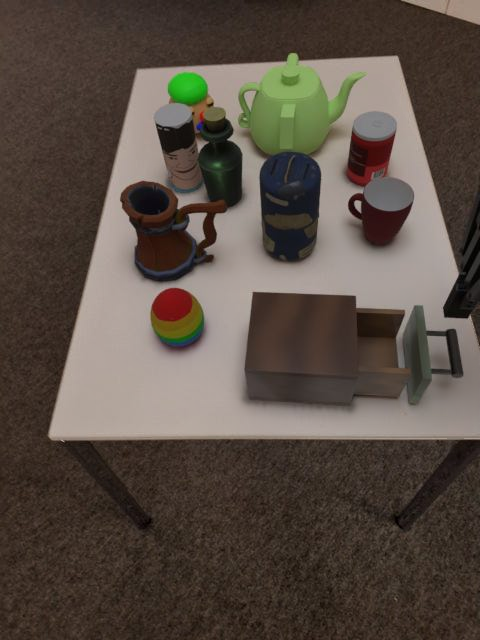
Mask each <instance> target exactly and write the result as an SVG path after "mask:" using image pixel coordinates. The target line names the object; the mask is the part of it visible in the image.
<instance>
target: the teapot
mask: <svg viewBox="0 0 480 640" xmlns="http://www.w3.org/2000/svg"><path fill="white" fill-rule="evenodd" d="M286 58H287V59H286V64H285V65H278V66H273V67H271V68H269V69H268V70H267V71H266V72H265V73H264V75H263V77H262V79H261V80H260V83H259V82H254V81H251V82H247V83H245V84H244V85H242V86H241V87H240V89H239V92H238V96H237V97H238V103H239V106H240V108H241V110H242V113H240V114H239V115H238V117H237V122H238V125H239V126H240V127H241V128H243V129H248V128H249V132H250V135H251V138H252V140H253V142H254V143H255V145H256V146H257V147H258V148H259V149H260V150H261V152H264V153H265V154H267V155H271V156H274V155H276V154H279V153H282V152H300V153H304V154H306V155H309V154H312V153H314V152H315V151H316V150H318V149H319V147H321V146H322V144H323V143H324V141H326V139H327V137H328V134H329V133H330V128H331V125H332V124H333V123H335V122H336V121H338V120H340V118H341V116H342V115H343V114H344V113H345V110H346V108H347V104H348V102H349V101H348V100H349V98H350V94H351V91H352V88H353V87H354V85H355V84H356V83H357V82H358V81H359V80H361V79H362V78H364V77H365V76H366V75H367V72H366V71H359V72H355V73H351V74H350V75H348V76H347V77H346V78H345V79H344V80H343V82H342V84H341V86H340V89H339V92H338V94H337V95H336V96H335V97H334V98H333V99H331V100H329V98H328V97H329V96H328V95H327V92H326V89H325V86H324V85H323V82H322V80H321V77H320V76H319V74H318V72H317V71H316V70H315V69H314V68H313V67H311V66H308V65H299V55H298V53H295V52H291V53H289V54H288V56H287V57H286ZM251 91H252V92H253V91H254V92H255V94H254V96H253V99H252V103H251V107H250V108H249V106H248V103H247V101H246V98H245V94H246V93H247V92H251ZM244 118H245V119H246V120H245V119H244Z"/></svg>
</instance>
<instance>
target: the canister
mask: <svg viewBox="0 0 480 640" xmlns="http://www.w3.org/2000/svg"><path fill="white" fill-rule="evenodd" d="M258 178H259V195H260V210H261V211H260V216H261V234H262V243H263V246H264V249H265V250H266V251H267V253H268V254H269V255H270V256H272V257H273V258H275V259H278V260H281V261H287V262H288V261H289V262H293V261H297V260H301V259H303V258H305V257H307V256H308V255H310V253H312V251H314V248H315V246H316V244H317V238H318V227H319V219H320V200H321V186H322V170H321V167H320V165H319V163H318V162H317V161H316V160H315V158H313V157H312V156H310V155H309V154H304V153H300V152H282V153H279V154H276V155H271V156H270V157H268V158H267V159H266V160H265V161H264V162H263V163H262V165H261V167H260V170H259V175H258Z"/></svg>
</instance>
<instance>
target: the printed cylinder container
mask: <svg viewBox="0 0 480 640" xmlns="http://www.w3.org/2000/svg"><path fill="white" fill-rule="evenodd" d="M153 121H154V124H155V128H156V132H157V136H158V140H159V144H160V148H161V153H162V156H163V160H164V164H165V168H166V173H167V176H168V180H169V185H170V186H171V189H172V190H174V191H176V192H178V193H185V194H186V193H191V192H194V191H196V190H198V189H199V188H200V187H201V186H202V184H203V183H204V180H203V176H202V173H201V169H200V166H199V163H198V155H199V152H200V151H199V146H198V141H197V135H196V133H195V129H194V123H193V117H192V112H191V109H190V108H189V107H188V106H187V105H184V104H180V103H171V104H169V103H168V104H164V105H161V106H160V107H159V108H158V109H157V110H155V112H154V113H153Z"/></svg>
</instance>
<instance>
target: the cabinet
mask: <svg viewBox="0 0 480 640" xmlns="http://www.w3.org/2000/svg"><path fill="white" fill-rule="evenodd" d="M251 296H252V297H251V305H250V315H249V324H248V334H247V341H246V352H245V360H244V375H245V382H246V389H247V395H248V400H253V401H254V400H257V401H268V402H269V401H272V402H286V403H301V404H316V405H331V406H332V405H335V406H351V403H352V400H353V397H354V394H353V393H354V390H355V387H356V383H357V380H358V377H359V370H358V341H357V312H356V308H357V295H351V294H349V295H347V294H323V293H296V292H295V293H294V292H268V291H252V295H251Z"/></svg>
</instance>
